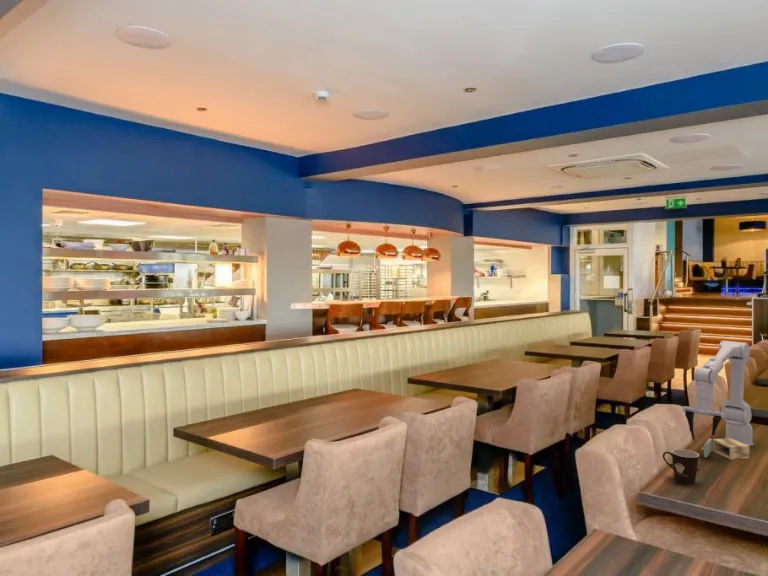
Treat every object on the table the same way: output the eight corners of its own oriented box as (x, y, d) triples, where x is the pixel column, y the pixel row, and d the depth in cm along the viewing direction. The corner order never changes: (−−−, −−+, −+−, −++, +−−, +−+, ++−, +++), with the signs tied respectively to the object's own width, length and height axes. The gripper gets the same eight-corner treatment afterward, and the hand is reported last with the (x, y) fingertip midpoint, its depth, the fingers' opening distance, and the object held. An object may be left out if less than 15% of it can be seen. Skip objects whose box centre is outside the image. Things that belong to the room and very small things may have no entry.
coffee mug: (704, 485, 199) (705, 456, 199) (681, 486, 198) (682, 458, 197) (681, 472, 211) (682, 445, 210) (660, 474, 209) (660, 447, 209)
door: (712, 450, 234) (712, 438, 234) (706, 457, 226) (707, 444, 226) (706, 449, 235) (707, 437, 235) (701, 456, 227) (701, 443, 227)
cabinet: (729, 450, 235) (729, 438, 235) (749, 458, 226) (749, 445, 225) (712, 451, 234) (712, 439, 234) (731, 459, 224) (731, 447, 224)
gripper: (681, 396, 228) (679, 430, 228) (723, 402, 219) (721, 438, 219) (685, 394, 233) (683, 427, 233) (726, 400, 224) (724, 435, 224)
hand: (702, 432), depth 226 cm, fingers open, 7 cm apart
